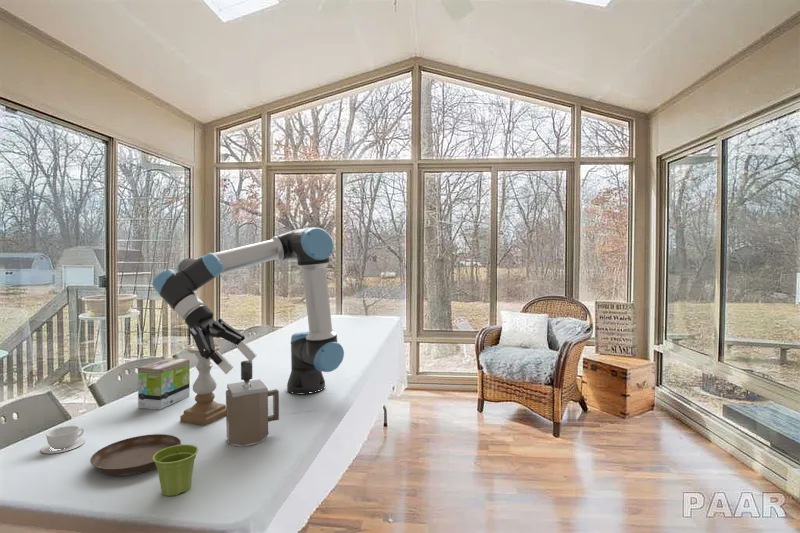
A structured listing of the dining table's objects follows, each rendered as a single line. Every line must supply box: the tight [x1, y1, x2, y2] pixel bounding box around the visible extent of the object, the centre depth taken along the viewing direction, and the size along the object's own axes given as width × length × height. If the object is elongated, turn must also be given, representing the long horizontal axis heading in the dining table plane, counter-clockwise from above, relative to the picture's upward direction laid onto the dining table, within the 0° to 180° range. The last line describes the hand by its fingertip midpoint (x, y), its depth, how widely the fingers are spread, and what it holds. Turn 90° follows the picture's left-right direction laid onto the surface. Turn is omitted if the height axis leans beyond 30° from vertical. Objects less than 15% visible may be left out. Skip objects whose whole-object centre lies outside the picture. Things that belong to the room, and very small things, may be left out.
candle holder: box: [179, 343, 226, 426], centre depth 144 cm, size 11×11×24 cm
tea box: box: [137, 357, 191, 411], centre depth 159 cm, size 15×10×15 cm, turn 168°
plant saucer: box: [89, 433, 182, 477], centre depth 115 cm, size 21×21×3 cm
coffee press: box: [225, 378, 280, 447], centre depth 129 cm, size 15×11×16 cm
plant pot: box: [153, 443, 199, 497], centre depth 101 cm, size 9×9×9 cm
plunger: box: [240, 360, 253, 396], centre depth 128 cm, size 9×9×22 cm
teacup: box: [40, 425, 86, 454], centre depth 123 cm, size 10×10×5 cm
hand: (242, 364), depth 127 cm, fingers open, 13 cm apart
